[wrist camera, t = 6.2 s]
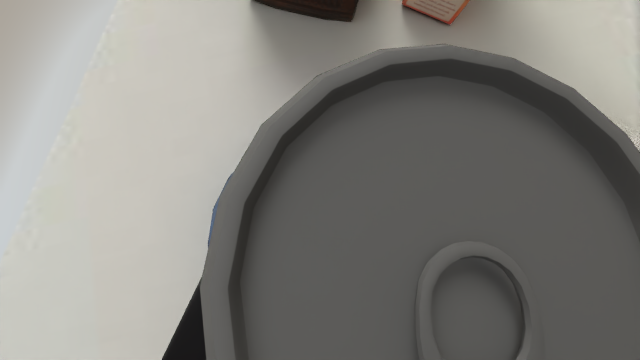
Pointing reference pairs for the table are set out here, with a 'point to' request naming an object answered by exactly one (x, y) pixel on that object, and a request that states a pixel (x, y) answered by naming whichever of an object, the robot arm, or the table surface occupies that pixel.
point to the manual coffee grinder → (318, 8)
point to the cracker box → (438, 8)
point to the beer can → (429, 220)
